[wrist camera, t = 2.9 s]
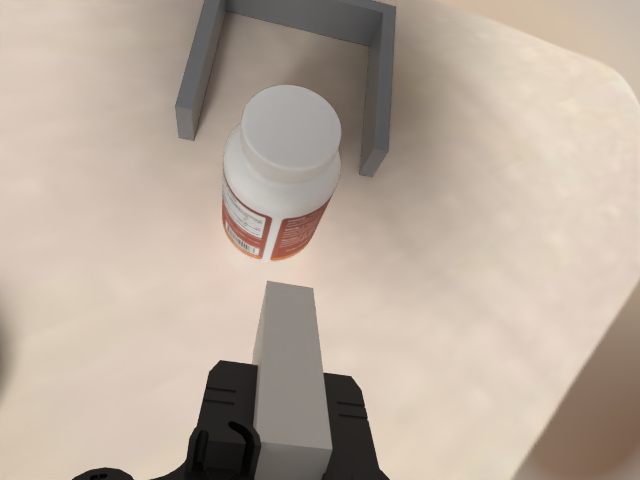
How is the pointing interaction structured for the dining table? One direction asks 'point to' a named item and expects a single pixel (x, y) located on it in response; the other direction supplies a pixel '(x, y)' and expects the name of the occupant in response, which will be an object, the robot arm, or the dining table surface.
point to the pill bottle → (279, 172)
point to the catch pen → (314, 16)
